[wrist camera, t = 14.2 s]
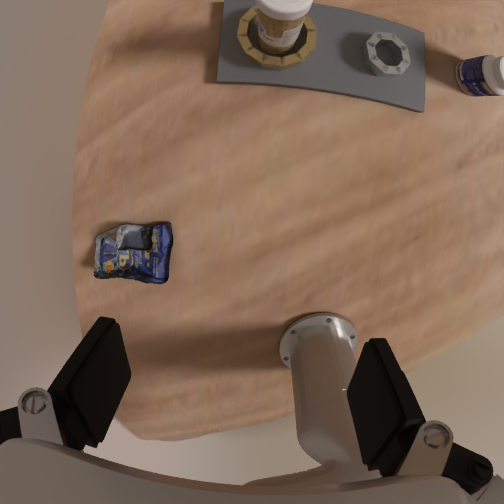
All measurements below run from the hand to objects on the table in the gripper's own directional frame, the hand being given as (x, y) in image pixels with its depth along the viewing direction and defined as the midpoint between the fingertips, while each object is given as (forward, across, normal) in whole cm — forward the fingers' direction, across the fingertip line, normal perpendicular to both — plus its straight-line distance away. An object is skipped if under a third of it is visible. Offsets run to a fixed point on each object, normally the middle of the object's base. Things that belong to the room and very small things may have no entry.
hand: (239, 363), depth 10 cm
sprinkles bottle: (+27, -1, -20) cm, 34 cm away
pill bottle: (+28, -30, -22) cm, 47 cm away
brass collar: (+27, -1, -20) cm, 34 cm away
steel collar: (+27, -14, -20) cm, 36 cm away
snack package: (+29, +16, +8) cm, 34 cm away
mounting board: (+28, -8, -20) cm, 36 cm away
